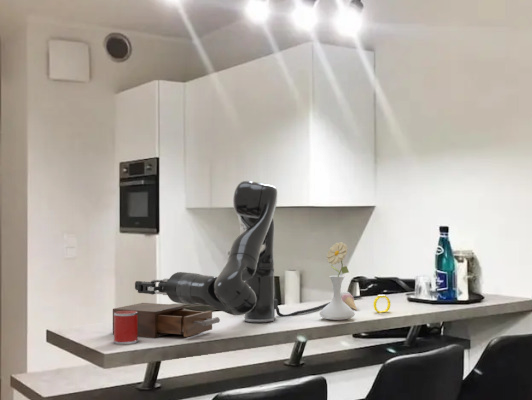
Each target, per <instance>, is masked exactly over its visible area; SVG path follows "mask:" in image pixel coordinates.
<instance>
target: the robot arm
mask: <svg viewBox="0 0 532 400" xmlns="http://www.w3.org/2000/svg"><path fill="white" fill-rule="evenodd" d="M232 201H233V205H232V206H233V210H234V213H235V214H236V215H237V219H238V223H239V232H240V234H239V235H237V236H236V238H235V239H234V240H233V242H232V245H231V247H230V251H229V253H228V258H227V262H226V264H225V266H224V267H223V268H222V270H221V272H220V273H219V275H218V276H214V275H206V274H205V275H204V274H201V273H194V272H185V271H178V272H175V273H173V274H172V275H170V277H169V278H163V279H152V280H151V281H146V280H145V281H141V280H136V281H135V282H134V289H135V291H137V293H138V294H147V295H163V296H167V297H168V299H169V300H171V301H172V302H174V303H176V304H183V305H191V306H204V307H205V306H206V307H212V308H213V309H216V310H218V311H220V312H223V313H226V314H229V315H231V316H244V321H245V322H247V323H257V324H259V323H261V324H262V323H271V322H274V321H275V317H276V316H275V315H277V316H278V317H280V318H283V317H285V318H286V317H293V316H297V315H301V314H307V313H310V312H315V311H318V310H322V309H323V308H324V307H325V306H326V305H328V304H329V303H330V302H331V301H329V302H326V303H324V304H321V305H318V306H315V307H312V308H307V309H303V310H297V311H293V312H290V313H287V314H283V313H281V312H280V308H279V300H278V299H276V297H275V294H276V293H275V231H276V223H275V219H274V216H275V212H276V208H277V203H278V189H277V187H276V186H274V185H271V184H268V183H261V182H257V181H252V180H251V181H250V180H243V181H241V182H239V183H238V184H237V186H236V188H235V189H234V193H233V200H232ZM262 247H263V248H262ZM156 283H158V284H156ZM352 296H353V298H354V300H355V299H361V298H362V295H361V294H359V295H352ZM275 313H276V314H275Z"/></svg>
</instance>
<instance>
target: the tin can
mask: <svg viewBox="0 0 532 400" xmlns="http://www.w3.org/2000/svg"><path fill="white" fill-rule="evenodd" d="M137 314H138V312H137V311H118V312H114V334H113V343H114V344H115V345H132V344H136V343H138V341H139V340H138V336H137Z"/></svg>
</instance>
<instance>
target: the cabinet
mask: <svg viewBox="0 0 532 400" xmlns="http://www.w3.org/2000/svg"><path fill="white" fill-rule="evenodd" d="M184 305H185V304H183V305H182V304H169V303H154V302H153V303H152V302H139V303H134V304H129V305H124V306H120V307H115V308H114V307H113V308H112V335H114V312H118V311H137V312H138V314H137V337H143V338H152V339H156V338H159V337H163V336H167V335H171V334H170V333H158V332H157V315H156V314H161V313H165V312H169V311H174V310H185V309H184V308H185V306H184Z"/></svg>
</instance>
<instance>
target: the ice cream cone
mask: <svg viewBox="0 0 532 400" xmlns="http://www.w3.org/2000/svg"><path fill="white" fill-rule="evenodd" d="M353 296H354V295H352V294H351V292H349V291H346V290H344V291H341V299H342V301H343V302H344V303H345V304H347V305H348V306H349V307H350V308H351V309H352V310H355V311H358V309H357V306H356V302H355V299H354V298H353Z"/></svg>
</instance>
